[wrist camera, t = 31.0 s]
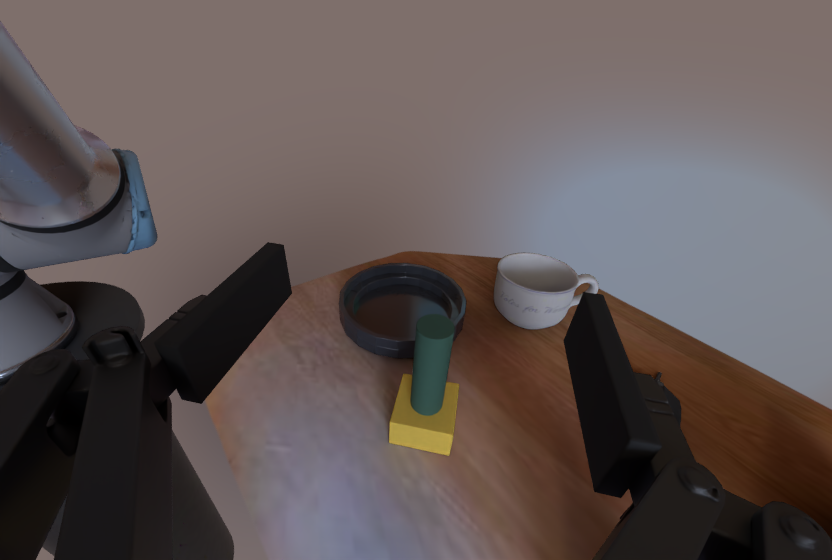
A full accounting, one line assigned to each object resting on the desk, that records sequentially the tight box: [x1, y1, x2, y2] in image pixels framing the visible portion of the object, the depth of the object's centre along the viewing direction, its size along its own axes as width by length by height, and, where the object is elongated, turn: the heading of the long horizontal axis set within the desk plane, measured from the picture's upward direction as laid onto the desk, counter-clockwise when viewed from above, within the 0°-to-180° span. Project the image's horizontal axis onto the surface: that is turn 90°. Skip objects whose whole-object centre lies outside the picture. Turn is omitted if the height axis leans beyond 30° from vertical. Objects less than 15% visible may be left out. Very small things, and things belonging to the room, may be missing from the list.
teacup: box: [494, 253, 599, 329], centre depth 51 cm, size 14×11×8 cm
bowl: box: [339, 263, 466, 358], centre depth 50 cm, size 17×17×4 cm
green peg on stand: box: [389, 314, 459, 456], centre depth 34 cm, size 6×6×14 cm
